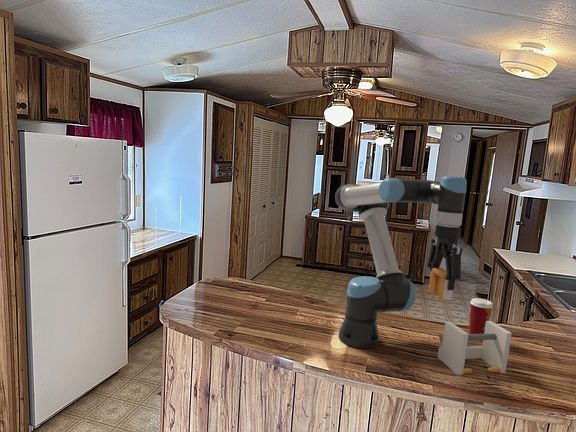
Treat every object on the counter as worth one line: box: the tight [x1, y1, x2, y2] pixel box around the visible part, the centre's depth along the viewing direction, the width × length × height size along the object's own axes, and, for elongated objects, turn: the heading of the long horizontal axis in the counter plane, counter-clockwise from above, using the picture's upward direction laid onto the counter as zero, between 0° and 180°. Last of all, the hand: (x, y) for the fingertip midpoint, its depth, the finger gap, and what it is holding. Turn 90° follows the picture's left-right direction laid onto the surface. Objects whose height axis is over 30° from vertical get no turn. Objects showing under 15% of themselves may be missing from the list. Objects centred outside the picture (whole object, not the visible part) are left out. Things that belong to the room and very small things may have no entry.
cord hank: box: [428, 267, 452, 302], centre depth 128 cm, size 8×4×9 cm, turn 10°
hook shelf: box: [437, 320, 512, 376], centre depth 135 cm, size 18×12×14 cm, turn 102°
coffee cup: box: [468, 297, 494, 334], centre depth 159 cm, size 8×8×15 cm
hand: (440, 294), depth 129 cm, fingers closed on cord hank, 8 cm apart
